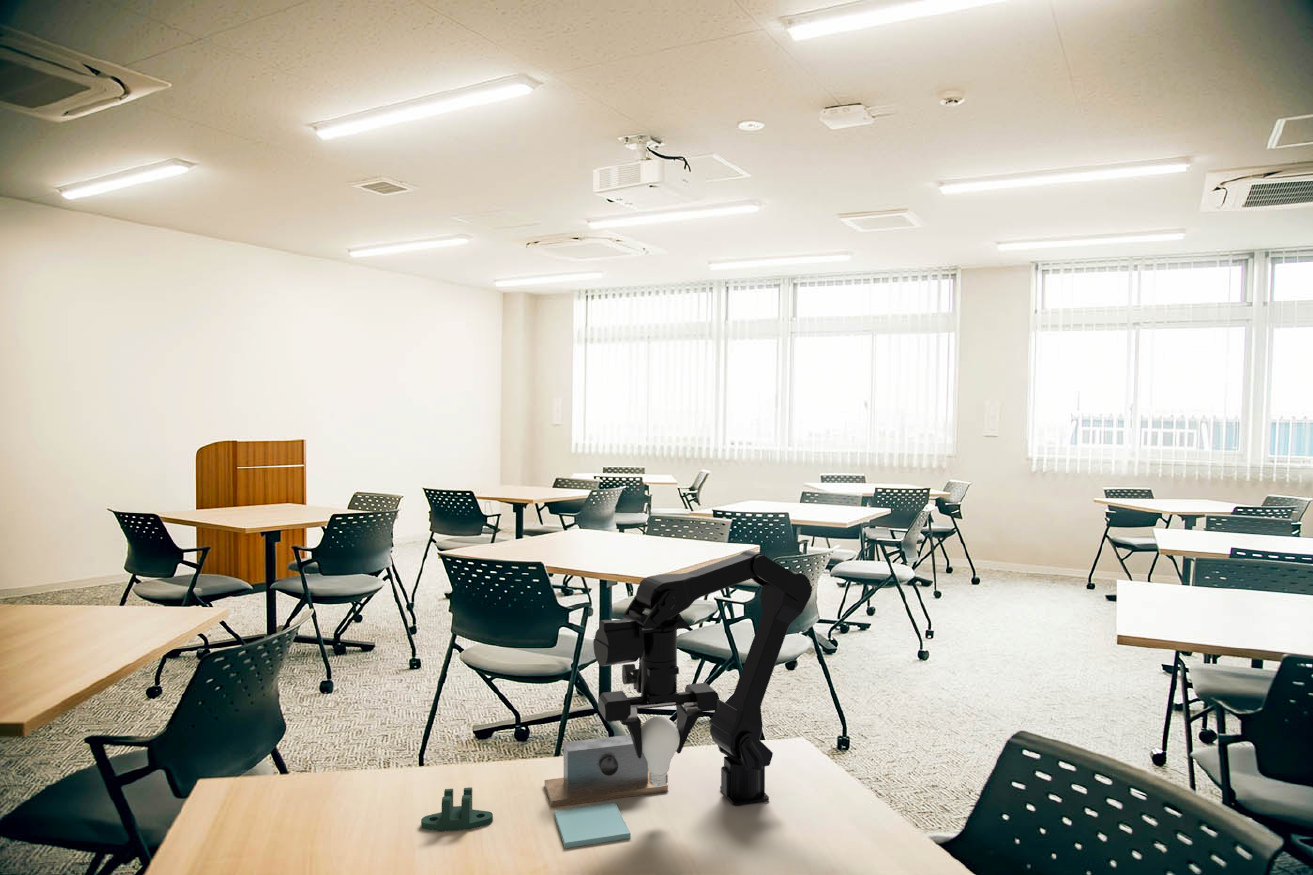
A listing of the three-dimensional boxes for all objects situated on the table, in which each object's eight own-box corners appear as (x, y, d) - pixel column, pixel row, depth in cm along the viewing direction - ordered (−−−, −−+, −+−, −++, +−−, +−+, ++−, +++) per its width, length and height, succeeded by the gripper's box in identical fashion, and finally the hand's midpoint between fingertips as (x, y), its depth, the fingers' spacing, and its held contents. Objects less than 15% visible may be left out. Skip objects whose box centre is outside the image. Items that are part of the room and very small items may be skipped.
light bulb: (675, 798, 119) (676, 727, 119) (633, 793, 120) (634, 723, 120) (682, 779, 125) (683, 712, 125) (642, 775, 126) (643, 708, 126)
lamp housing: (654, 771, 139) (654, 727, 139) (667, 791, 131) (667, 744, 131) (544, 785, 133) (544, 739, 133) (551, 807, 126) (551, 758, 126)
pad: (615, 807, 126) (615, 802, 126) (630, 838, 116) (630, 832, 116) (554, 815, 123) (554, 810, 123) (564, 848, 113) (564, 842, 113)
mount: (493, 815, 123) (493, 784, 123) (491, 829, 119) (491, 797, 119) (423, 820, 122) (423, 788, 122) (418, 834, 118) (418, 802, 118)
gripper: (697, 640, 133) (697, 730, 133) (591, 648, 128) (591, 742, 128) (720, 658, 122) (720, 755, 122) (606, 668, 117) (606, 770, 117)
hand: (658, 754), depth 123 cm, fingers closed on light bulb, 6 cm apart
